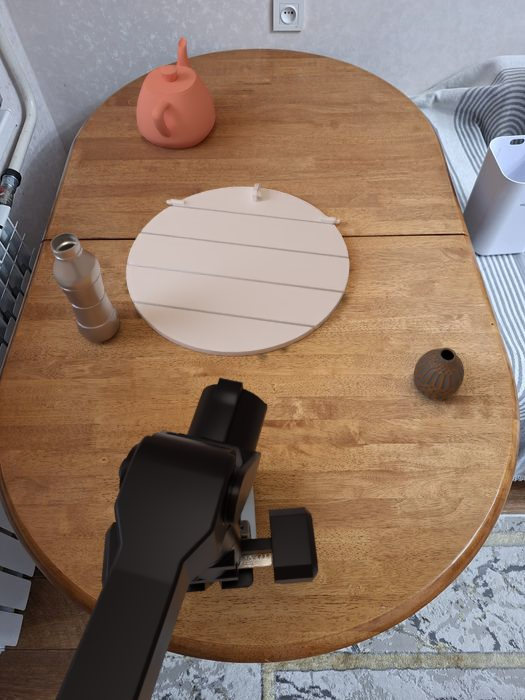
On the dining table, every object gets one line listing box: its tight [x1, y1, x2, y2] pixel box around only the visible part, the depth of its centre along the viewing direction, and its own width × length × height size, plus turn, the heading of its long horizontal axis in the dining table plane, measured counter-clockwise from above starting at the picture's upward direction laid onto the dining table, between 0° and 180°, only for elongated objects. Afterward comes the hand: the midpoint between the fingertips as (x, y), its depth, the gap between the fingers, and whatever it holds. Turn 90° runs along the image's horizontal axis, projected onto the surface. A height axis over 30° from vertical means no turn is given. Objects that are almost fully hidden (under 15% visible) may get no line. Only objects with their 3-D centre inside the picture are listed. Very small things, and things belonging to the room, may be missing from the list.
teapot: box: [136, 36, 217, 149], centre depth 116 cm, size 25×17×13 cm
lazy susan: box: [125, 182, 350, 357], centre depth 97 cm, size 40×39×3 cm
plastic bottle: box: [50, 232, 120, 343], centre depth 82 cm, size 6×7×20 cm
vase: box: [413, 347, 465, 401], centre depth 79 cm, size 7×7×9 cm
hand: (218, 572), depth 56 cm, fingers closed
